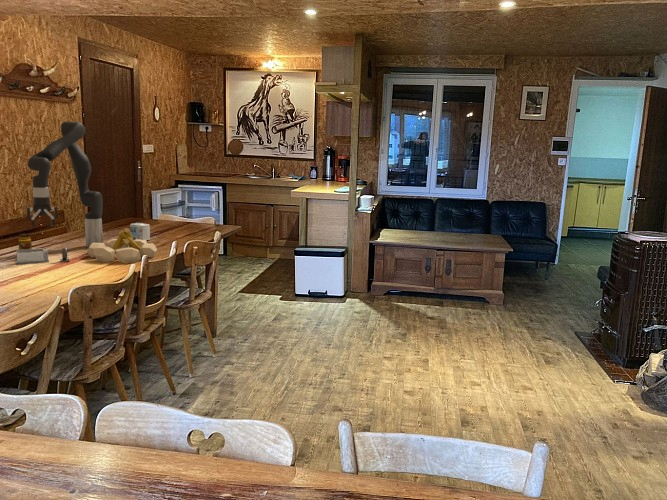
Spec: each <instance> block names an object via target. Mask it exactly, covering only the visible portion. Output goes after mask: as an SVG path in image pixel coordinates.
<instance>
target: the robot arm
mask: <svg viewBox="0 0 667 500" xmlns="http://www.w3.org/2000/svg"><path fill="white" fill-rule="evenodd" d="M60 133H61V135H62V137H60V138H57V139H55V140H53V141H52V142H50V143H48V145H46V146H45V147H44V148H43V149H42V150H41V151H38V152H37V153H35V154H34V155H31V157H30V158H29V159H28V161H27V166H28V168H29V169H30V170H32V171H34V172H35V171H36V172H38V174H37V175H33V177H32V200H33V207H30V206H27V207H26V218H27V219H28V220H30V222H31V224H30V225H31V226H32V227H33V228H36V225H35V222H36V221H35V219H36V218H37V216H47V215H48V217H50V223H51V224H50V226H51V227H54V226H55V220H56V219H58V218H59V214H58V208H57V207H58V206H51V203H50V202H51V201H50V199H51V197H50V190H49V176H50V171H51V162H53V161H55V159H57V158H58V157H59V155H61V154H62V153H63V152H64V151H65V150H66V149H67V151H68V154H69V157H70V161H71V165H72V168H73V172H74V175H75V179H76V182H77V187H78V193H79V199H80V202H81V204H82V206H84V207H88V208H91V210H90V211H88V212H86V213H85V214H84V226H85V227H84V229H85V231H84V232H85V246H86V248H89V247H90V245H91V244H92V243H104V233H103V232H104V231H103V222H102V221H103V219H102V217H103V216H102V215H103V207H104V206H103V202H104V199H103V195H102V193H101V192H99V191H96V190H95V191H93V190H92V191H91V190H90V189H89V186H88V185H89V184H88V181H89V179H90V177H91V174H92V167H91V166H92V165H91V163H90V160H89V158H88V156H87V155H86V153H85V152H84V151H83V150H82V148H81V147H80V146H79V145H78V141H79V140H81V139H82V138H83V137H84V136H85V134H86V127H85V126H84V124H82V123H81V122H79V121H63V122H62V123H61V125H60ZM32 211H34V214H32V216H31V212H32ZM51 211H53V212H54V215H52V213H51Z"/></svg>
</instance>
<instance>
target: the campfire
mask: <svg viewBox="0 0 667 500" xmlns="http://www.w3.org/2000/svg"><path fill="white" fill-rule="evenodd" d="M157 251H158V248H157V246H156V245H155V244H154V243H148V241H146V240H140V239H137V240H133V239H132V236H131V233H130V228H128V227H123V228H122V229H121V230H120V231H119V232H118V237H117V238H112V239H110V240H108V241H106V243H104V242H103V243H92V244H91V245H90V247H87V250H86V252H87V254H88V255H89V257H90V258H91V259H96V261H97V262H101V263H110V262H113V261H116V260H117V261H119V262H121V263H123V264H129V263H130V264H133V263H137V262H140V261H141V260H142V256H143V255H148V256H149V257H152V258H153V257H155V255H156V253H157ZM115 258H116V260H115Z"/></svg>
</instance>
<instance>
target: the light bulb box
mask: <svg viewBox="0 0 667 500" xmlns="http://www.w3.org/2000/svg"><path fill="white" fill-rule="evenodd" d="M129 226H130V228H129V230H130V233H131V236H132V239H133V240H137V239H140V240H146V242H148V241H147V240H150V241H151V234H150V233H151V230H150V228H151V225H150V224H149V223H148V224H147V223H142V222H141V223H140V222H134V223H130V225H129Z"/></svg>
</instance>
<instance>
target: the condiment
mask: <svg viewBox="0 0 667 500" xmlns="http://www.w3.org/2000/svg"><path fill="white" fill-rule="evenodd" d="M32 246H33V245H32V239H31V234H29V233H21V234H19V235H18V250H19V249H33V247H32ZM15 257H17V254H15Z"/></svg>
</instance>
